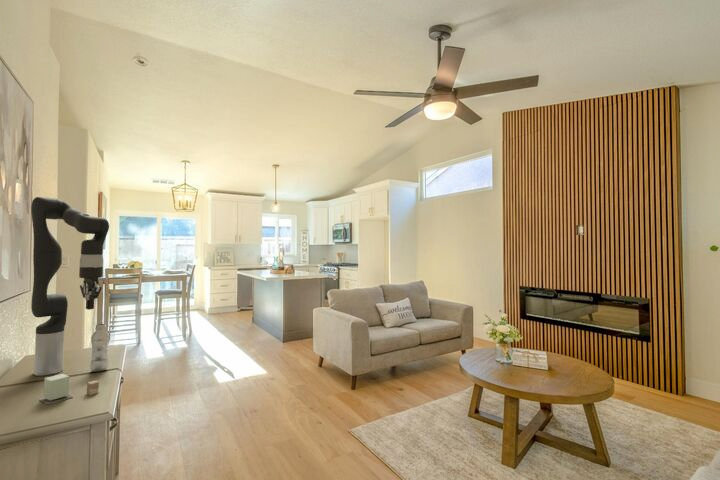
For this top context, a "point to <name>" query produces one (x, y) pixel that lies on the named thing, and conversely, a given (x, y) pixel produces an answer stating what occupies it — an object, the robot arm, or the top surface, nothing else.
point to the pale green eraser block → (56, 386)
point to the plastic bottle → (99, 348)
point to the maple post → (92, 387)
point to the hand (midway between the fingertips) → (89, 309)
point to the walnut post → (55, 399)
